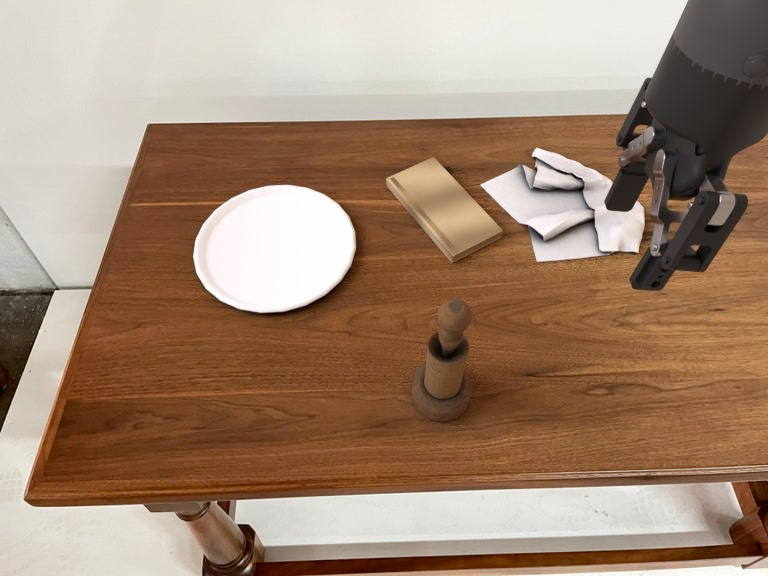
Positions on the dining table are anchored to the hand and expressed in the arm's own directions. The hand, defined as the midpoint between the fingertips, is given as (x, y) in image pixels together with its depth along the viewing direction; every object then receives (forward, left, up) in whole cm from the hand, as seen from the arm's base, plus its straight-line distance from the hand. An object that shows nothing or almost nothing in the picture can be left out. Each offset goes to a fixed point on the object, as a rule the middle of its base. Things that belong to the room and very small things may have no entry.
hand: (628, 245), depth 46 cm
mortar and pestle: (+6, +11, -25) cm, 28 cm away
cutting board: (+28, -4, -25) cm, 38 cm away
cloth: (+20, -19, -25) cm, 37 cm away
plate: (+34, +18, -25) cm, 46 cm away
